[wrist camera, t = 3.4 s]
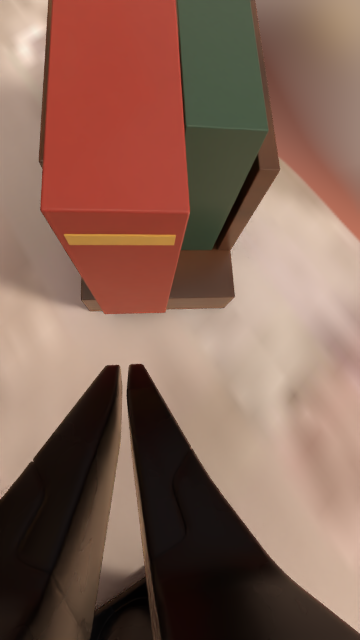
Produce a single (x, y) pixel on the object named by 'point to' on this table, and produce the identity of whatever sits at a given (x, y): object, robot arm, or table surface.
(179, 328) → the table surface
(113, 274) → the red book
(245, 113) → the green book
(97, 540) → the robot arm
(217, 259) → the book rack
